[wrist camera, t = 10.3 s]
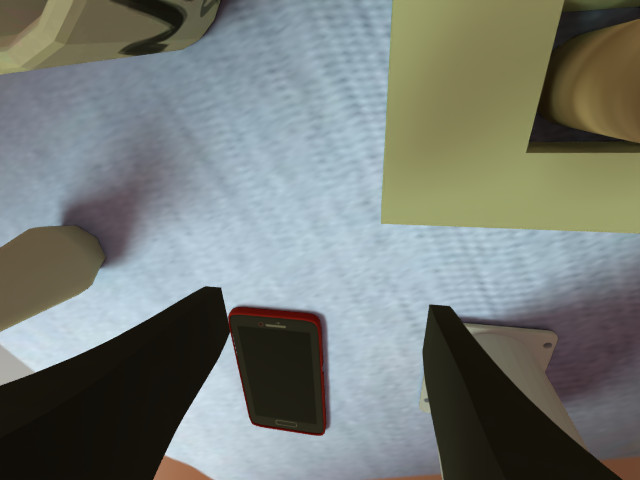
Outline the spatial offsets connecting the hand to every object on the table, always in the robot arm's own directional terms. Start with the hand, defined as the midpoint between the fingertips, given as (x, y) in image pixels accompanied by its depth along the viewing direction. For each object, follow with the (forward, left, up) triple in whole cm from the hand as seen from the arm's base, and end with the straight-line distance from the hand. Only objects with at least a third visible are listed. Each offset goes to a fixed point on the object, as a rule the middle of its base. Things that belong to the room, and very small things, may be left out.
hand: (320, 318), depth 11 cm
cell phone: (-16, +6, -11) cm, 20 cm away
